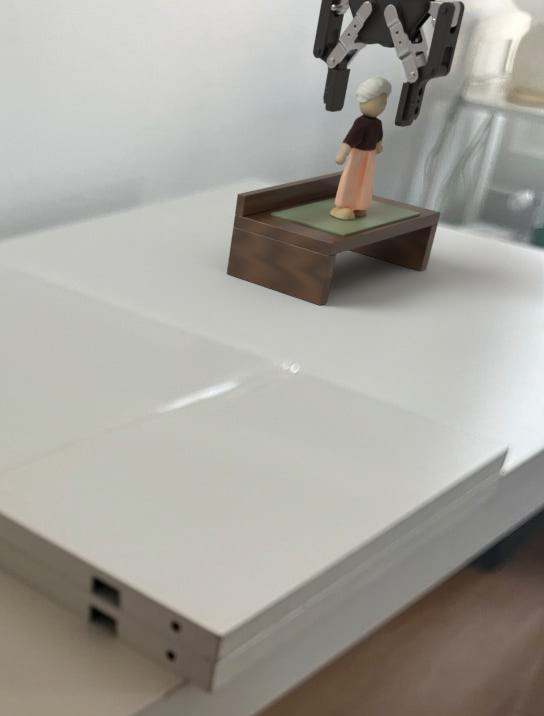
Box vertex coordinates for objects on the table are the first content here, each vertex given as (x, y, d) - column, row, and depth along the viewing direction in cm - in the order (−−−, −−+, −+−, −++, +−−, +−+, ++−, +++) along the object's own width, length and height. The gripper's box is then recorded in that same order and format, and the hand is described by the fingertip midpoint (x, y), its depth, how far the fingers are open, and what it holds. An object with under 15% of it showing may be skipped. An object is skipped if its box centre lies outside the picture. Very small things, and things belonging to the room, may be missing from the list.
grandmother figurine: (355, 225, 103) (384, 83, 96) (319, 217, 105) (345, 77, 97) (380, 210, 108) (410, 74, 101) (346, 203, 110) (372, 69, 102)
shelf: (426, 269, 113) (446, 192, 109) (320, 305, 102) (336, 221, 97) (335, 242, 120) (350, 169, 115) (226, 273, 109) (237, 193, 104)
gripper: (317, -91, 93) (286, 109, 103) (459, -80, 85) (410, 135, 95) (364, -90, 98) (329, 102, 108) (503, -79, 90) (452, 127, 99)
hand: (367, 117), depth 101 cm, fingers open, 7 cm apart
